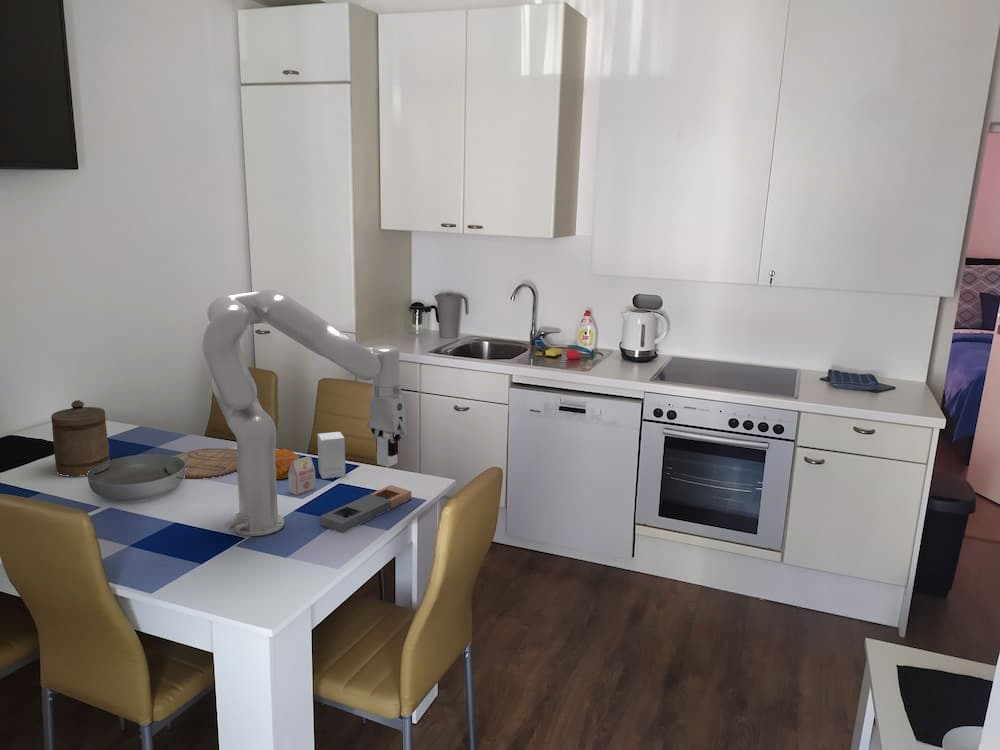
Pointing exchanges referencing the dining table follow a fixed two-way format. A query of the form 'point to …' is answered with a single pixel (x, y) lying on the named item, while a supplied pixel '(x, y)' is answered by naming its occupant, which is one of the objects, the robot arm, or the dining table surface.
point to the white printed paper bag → (301, 476)
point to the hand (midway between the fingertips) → (387, 452)
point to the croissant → (283, 462)
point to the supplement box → (331, 455)
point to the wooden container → (79, 439)
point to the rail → (364, 508)
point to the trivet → (209, 462)
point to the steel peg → (384, 451)
